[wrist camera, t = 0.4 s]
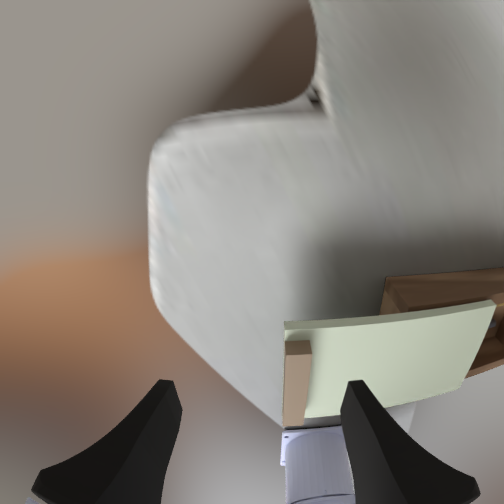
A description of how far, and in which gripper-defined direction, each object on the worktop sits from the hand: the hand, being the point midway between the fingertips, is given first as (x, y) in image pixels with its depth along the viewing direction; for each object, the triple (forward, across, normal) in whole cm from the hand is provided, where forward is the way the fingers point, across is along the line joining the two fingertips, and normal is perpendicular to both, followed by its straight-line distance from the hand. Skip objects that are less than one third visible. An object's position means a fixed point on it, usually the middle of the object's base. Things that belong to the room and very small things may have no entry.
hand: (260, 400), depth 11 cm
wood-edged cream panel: (+6, -9, +4) cm, 11 cm away
